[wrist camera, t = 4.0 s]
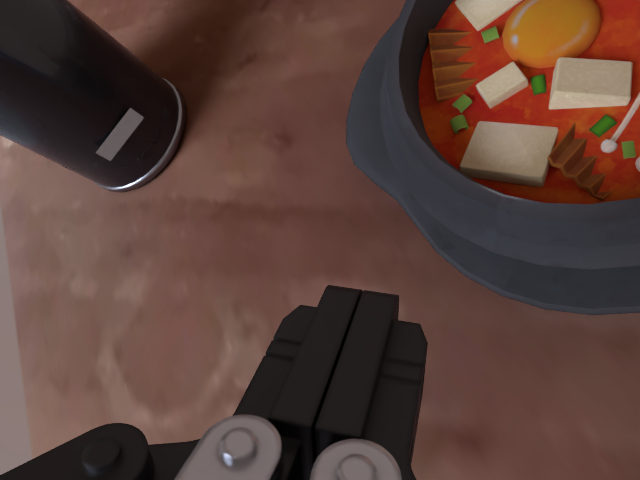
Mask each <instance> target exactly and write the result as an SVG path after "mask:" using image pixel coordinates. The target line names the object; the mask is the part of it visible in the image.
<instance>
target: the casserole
mask: <svg viewBox="0 0 640 480" xmlns="http://www.w3.org/2000/svg"><path fill="white" fill-rule="evenodd" d="M346 144H347V147H348V149H349V152H350V155H351V157H352V160H353V162H354V165H355V166H356V167H358V168H359V169H360V170H361V171H362V172H363V173H364V174H365V175H366V176H367V177H369V178H370V179H371V180H372V181H373V182H374V183H375V184H377V185H378V186H379V187H380V188H382V189H383V190H384V191H385V192H387V193H388V194H389V195H390V196H392V197H393V198H394V199H395V200H397V201H398V203H399V204H400V205H401V207H402V208H403V209H404V211H405V212H406V213H407V214H408V216H409V217H410V218H411V220H412V221H413V222H414V224H415V225H416V226H417V228H418V229H419V230H420V231H421V233H422V234H423V235H424V236H425V238H426V239H427V240H428V242H429V243H430V244H431V245H432V247H433V248H434V249H435V251H436V252H437V253H438V254H439V255H440V256H442V257H443V258H444V259H445V260H447V261H448V262H449V263H450V264H451V265H453V266H454V267H455V268H456V269H457V270H459V271H460V272H461V273H462V274H463V275H465V276H466V277H468V278H470V279H471V280H473V281H475V282H477V283H479V284H481V285H483V286H485V287H486V288H488V289H490V290H492V291H494V292H496V293H498V294H499V295H501V296H504V297H507V298H510V299H514V300H517V301H520V302H523V303H526V304H530V305H533V306H536V307H539V308H543V309H548V310H556V311H564V312H572V313H580V314H587V315H603V314H621V313H639V312H640V0H406V2H405V4H404V7H403V9H402V12H401V14H400V17H399V18H398V19H397V20H396V21H395V23H394V24H393V25H392V26H391V27H390V28H389V30H388V31H387V32H386V33H385V34H384V36H383V37H382V38H381V39H380V41H379V42H378V44H377V46H376V47H375V49H374V50H373V52H372V54H371V55H370V57H369V58H368V60H367V62H366V63H365V65H364V67H363V69H362V72H361V74H360V77H359V79H358V82H357V84H356V86H355V89H354V91H353V94H352V98H351V103H350V107H349V112H348V116H347V135H346Z"/></svg>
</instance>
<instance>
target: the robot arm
mask: <svg viewBox="0 0 640 480" xmlns="http://www.w3.org/2000/svg"><path fill="white" fill-rule="evenodd" d="M185 120H186V109H185V103H184V100H183V97H182V95H181V93H180V92H179V90H178V89H177V88H176V87H175V86H174V85H173V84H171V83H170V82H169V81H168V80H166V79H164V78H162V77H161V76H160V75H158V74H157V73H156V72H155V71H153V70H152V69H151V68H150V67H148V66H147V65H146V64H145V63H144V62H142V61H141V60H140V59H139V58H138V57H137V56H135V55H134V54H133V53H132V52H130V51H129V50H128V49H127V48H126V47H124V46H123V45H122V44H121V43H119V42H118V41H117V40H116V39H114V38H113V37H112V36H111V35H110V34H108V33H107V32H106V31H105V30H103V29H102V28H101V27H100V26H98V25H97V24H96V23H95V22H94V21H92V20H91V19H90V18H89V17H87V16H86V15H85V14H84V13H82V12H81V11H80V10H79V9H78V8H76V7H75V6H74V5H73V4H71V3H70V2H69V1H68V0H0V135H1V136H3V137H5V138H7V139H9V140H11V141H13V142H15V143H17V144H19V145H21V146H23V147H25V148H27V149H29V150H31V151H33V152H35V153H38V154H40V155H42V156H44V157H46V158H48V159H50V160H52V161H54V162H56V163H58V164H60V165H62V166H63V167H65V168H67V169H69V170H71V171H73V172H75V173H78V174H80V175H82V176H84V177H86V178H88V179H90V180H92V181H94V182H95V183H96V184H97V185H99V186H101V187H103V188H105V189H107V190H109V191H113V192H127V191H131V190H134V189H137V188H139V187H141V186H143V185H145V184H146V183H148V182H149V181H150V180H152V179H153V178H154V177H155V176H156V175H158V174H159V173H160V172H161V171H162V170H163V168H164V167H165V166H166V165H167V164H168V162H169V161H170V159H171V158H172V156H173V155H174V153H175V151H176V149H177V147H178V145H179V143H180V140H181V138H182V135H183V131H184V127H185ZM398 311H399V295H393V294H386V293H380V292H373V291H366V290H364V291H362V290H359V289H352V288H345V287H339V286H332V285H328V286H327V287H326V289H325V291H324V293H323V295H322V297H321V300H320V302H319V304H318V306H317V307H311V306H305V305H300V306H298V307H297V308H296V309H295V310H294V311H292V312H291V313H290V314H289V315H287V316H286V317H285V318H284V319H283V320H282V322H281V324H280V326H279V328H278V330H277V332H276V334H275V336H274V340H273V341H271V343H270V345H269V347H268V349H267V351H266V355H265V356H264V357H263V359H262V361H261V363H260V365H259V367H258V369H257V370H256V372H255V374H254V376H253V378H252V380H251V382H250V384H249V386H248V388H247V390H246V392H245V394H244V396H243V398H242V400H241V401H240V403H239V405H238V407H237V409H236V411H235V413H234V414H233V416H230V417H228V418H225V419H223V420H221V421H219V422H217V423H216V424H214V425H213V426H211V427H210V428H209V429H208V430H207V431H206V432H205V434H204V435H203V436H202V438H201V439H198V440H194V441H189V442H179V443H167V444H154V445H148V442H147V440H146V437H145V435H144V434H143V433H142V432H141V431H140V430H139V429H138V428H136V427H134V426H132V425H129V424H124V423H112V424H106V425H103V426H100V427H97V428H95V429H92V430H90V431H88V432H86V433H84V434H82V435H80V436H78V437H76V438H74V439H72V440H70V441H68V442H66V443H64V444H62V445H60V446H58V447H56V448H54V449H52V450H50V451H48V452H46V453H44V454H42V455H40V456H38V457H36V458H34V459H32V460H30V461H28V462H26V463H24V464H22V465H20V466H18V467H16V468H14V469H12V470H10V471H8V472H6V473H4V474H2V475H0V480H416V478H415V476H414V474H413V472H412V469H411V462H412V456H413V449H414V443H415V436H416V431H417V425H418V418H419V412H420V406H421V400H422V393H423V383H424V373H425V364H426V354H427V344H428V343H427V341H426V338H425V335H424V333H423V330H422V328H421V325H420V324H417V323H411V322H405V321H399V320H398Z"/></svg>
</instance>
